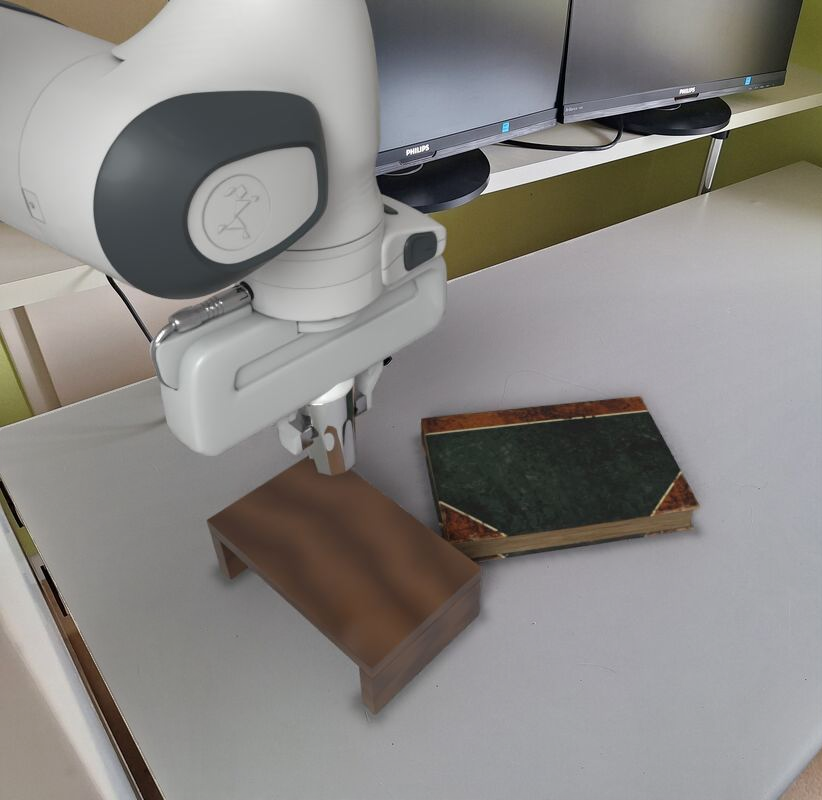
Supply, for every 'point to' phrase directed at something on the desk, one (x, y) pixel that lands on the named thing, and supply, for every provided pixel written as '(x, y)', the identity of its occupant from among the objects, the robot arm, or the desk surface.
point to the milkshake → (332, 429)
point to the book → (553, 478)
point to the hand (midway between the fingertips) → (328, 426)
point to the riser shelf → (353, 570)
